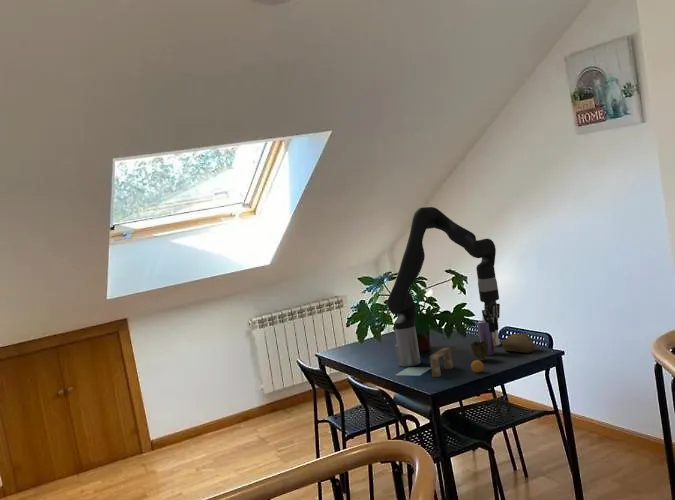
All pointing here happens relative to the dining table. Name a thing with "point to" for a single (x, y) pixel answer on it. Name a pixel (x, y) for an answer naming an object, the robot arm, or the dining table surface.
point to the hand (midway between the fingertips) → (494, 330)
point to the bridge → (435, 361)
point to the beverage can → (486, 336)
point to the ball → (477, 366)
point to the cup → (480, 349)
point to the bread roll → (519, 343)
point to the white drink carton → (494, 336)
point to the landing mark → (413, 371)
